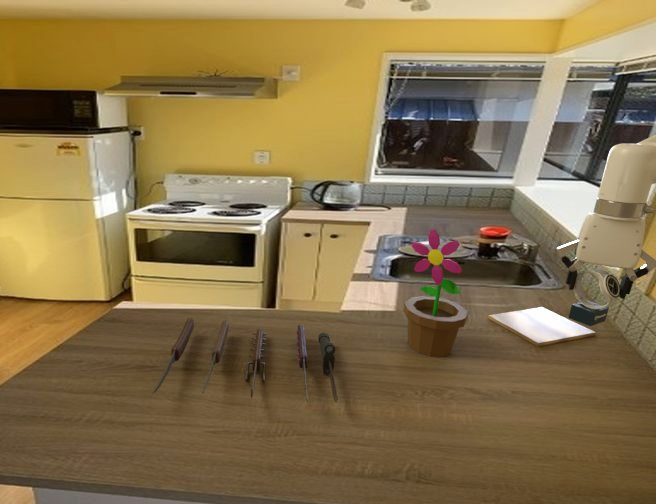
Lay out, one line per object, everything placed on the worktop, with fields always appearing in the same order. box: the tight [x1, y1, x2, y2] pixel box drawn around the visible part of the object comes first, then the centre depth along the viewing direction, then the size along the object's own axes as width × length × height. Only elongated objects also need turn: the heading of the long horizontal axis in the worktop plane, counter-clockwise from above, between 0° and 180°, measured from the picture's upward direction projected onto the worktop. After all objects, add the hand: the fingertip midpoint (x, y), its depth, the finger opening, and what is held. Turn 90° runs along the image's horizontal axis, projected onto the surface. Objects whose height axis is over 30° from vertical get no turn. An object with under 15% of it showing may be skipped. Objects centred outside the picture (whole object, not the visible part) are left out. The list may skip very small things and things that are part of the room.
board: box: [487, 306, 597, 347], centre depth 115 cm, size 20×16×1 cm
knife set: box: [151, 317, 339, 404], centre depth 90 cm, size 35×33×8 cm
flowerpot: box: [403, 228, 469, 358], centre depth 100 cm, size 14×14×30 cm
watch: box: [568, 268, 621, 327], centre depth 88 cm, size 6×8×11 cm
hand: (595, 291), depth 88 cm, fingers closed on watch, 8 cm apart
